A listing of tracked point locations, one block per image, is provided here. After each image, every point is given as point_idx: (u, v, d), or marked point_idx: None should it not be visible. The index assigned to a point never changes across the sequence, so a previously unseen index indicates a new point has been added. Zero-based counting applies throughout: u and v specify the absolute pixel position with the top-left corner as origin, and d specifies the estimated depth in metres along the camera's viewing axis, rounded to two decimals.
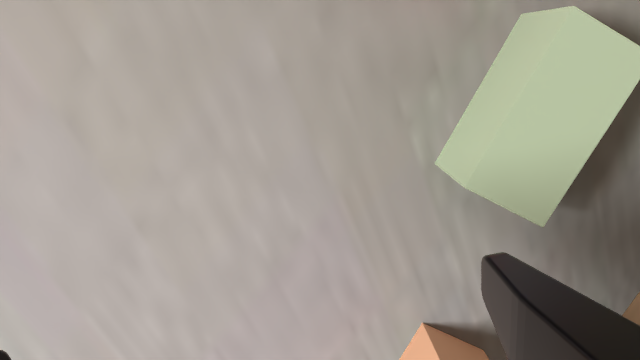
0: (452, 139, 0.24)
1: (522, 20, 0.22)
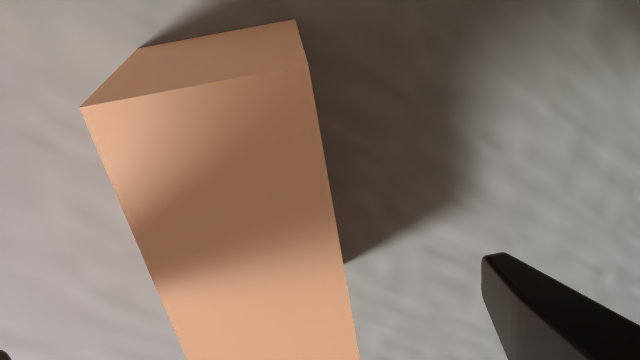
0: None
1: None
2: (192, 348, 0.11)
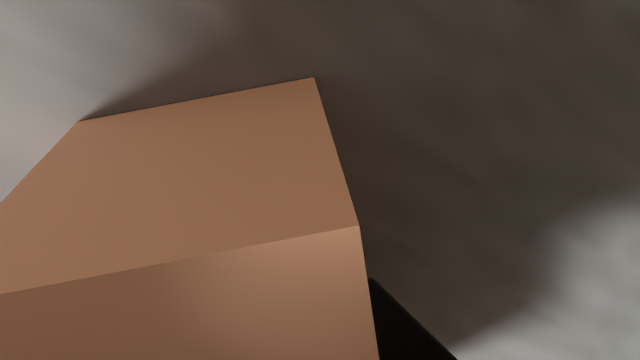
0: None
1: None
2: None
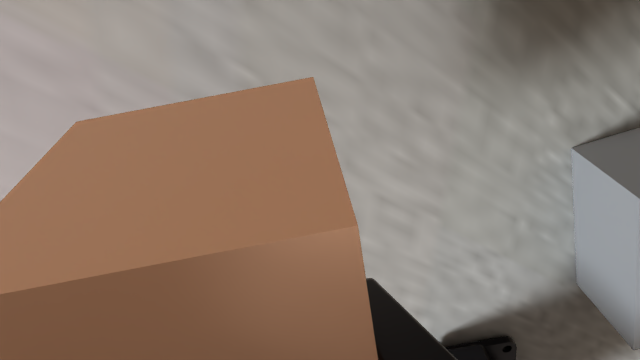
0: None
1: None
2: None
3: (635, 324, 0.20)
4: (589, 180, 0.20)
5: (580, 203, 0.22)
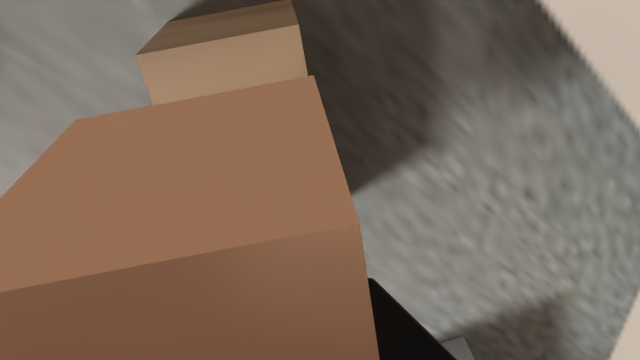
0: None
1: None
2: None
3: None
4: None
5: None
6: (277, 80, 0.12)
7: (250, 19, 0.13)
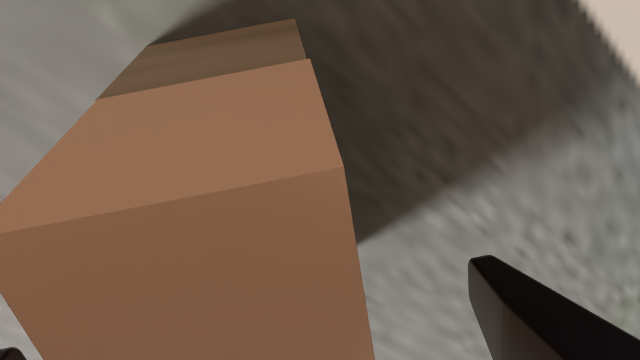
0: None
1: None
2: None
3: None
4: None
5: None
6: None
7: (245, 48, 0.11)
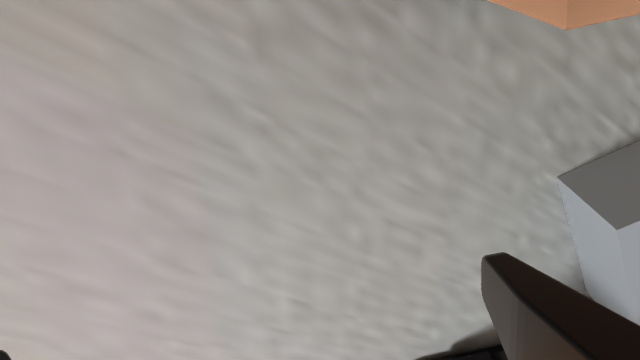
0: None
1: None
2: None
3: None
4: (576, 207, 0.22)
5: (574, 224, 0.23)
6: None
7: None
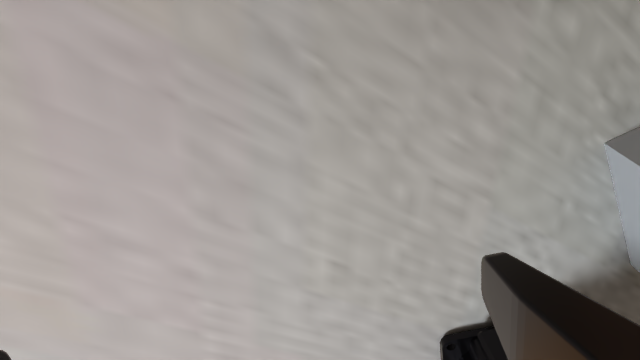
0: None
1: None
2: None
3: None
4: (626, 172, 0.21)
5: (621, 192, 0.23)
6: None
7: None
